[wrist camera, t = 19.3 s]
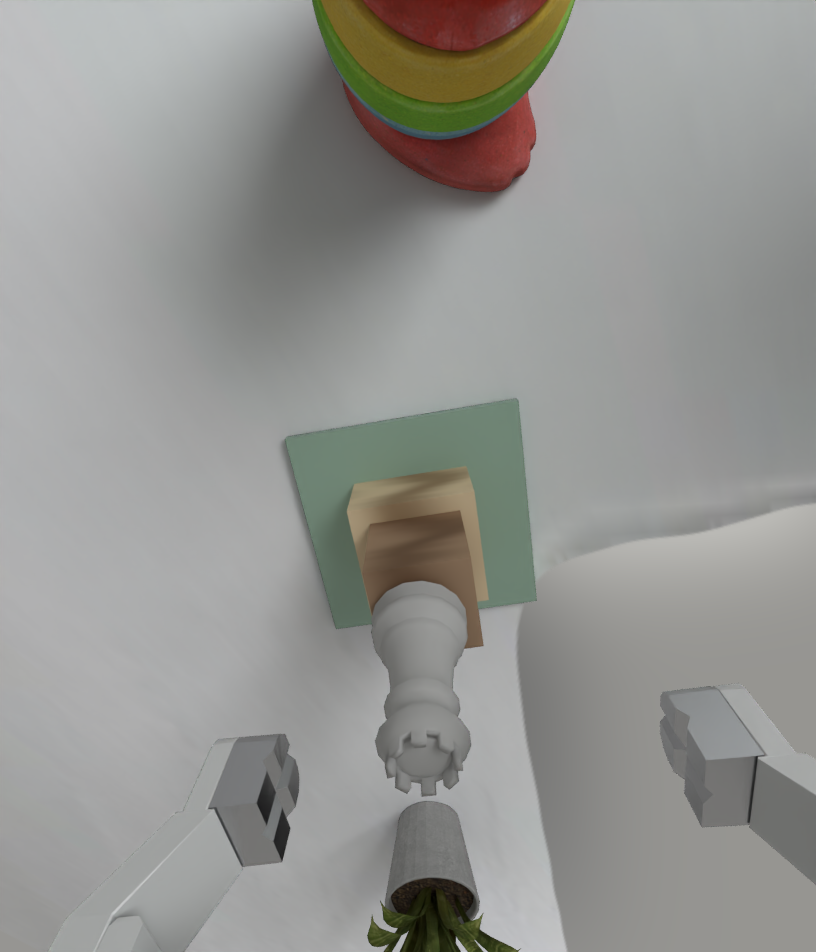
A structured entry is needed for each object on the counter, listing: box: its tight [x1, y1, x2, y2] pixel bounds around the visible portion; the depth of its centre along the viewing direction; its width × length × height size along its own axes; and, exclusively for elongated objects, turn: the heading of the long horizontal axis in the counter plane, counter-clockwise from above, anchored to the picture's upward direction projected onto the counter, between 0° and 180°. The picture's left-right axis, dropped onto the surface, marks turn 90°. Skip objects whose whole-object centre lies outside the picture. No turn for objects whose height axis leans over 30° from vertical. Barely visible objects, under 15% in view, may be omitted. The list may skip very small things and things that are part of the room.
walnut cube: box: [362, 510, 483, 649], centre depth 26 cm, size 5×5×5 cm
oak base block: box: [347, 466, 489, 616], centre depth 30 cm, size 7×7×4 cm
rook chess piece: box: [371, 581, 471, 796], centre depth 20 cm, size 4×4×8 cm
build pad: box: [285, 399, 537, 629], centre depth 32 cm, size 14×14×1 cm
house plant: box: [367, 801, 520, 952], centre depth 35 cm, size 14×14×16 cm
